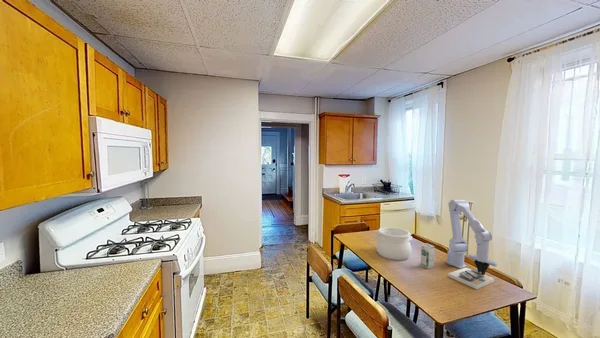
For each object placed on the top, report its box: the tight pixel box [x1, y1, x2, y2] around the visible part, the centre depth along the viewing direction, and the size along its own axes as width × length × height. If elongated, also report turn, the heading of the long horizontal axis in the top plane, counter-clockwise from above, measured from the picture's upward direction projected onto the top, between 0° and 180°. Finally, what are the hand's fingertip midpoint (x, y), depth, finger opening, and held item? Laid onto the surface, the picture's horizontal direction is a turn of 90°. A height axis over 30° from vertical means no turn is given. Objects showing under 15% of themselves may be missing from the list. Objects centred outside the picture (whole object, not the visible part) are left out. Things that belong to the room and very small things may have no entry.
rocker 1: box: [459, 271, 474, 280], centre depth 146 cm, size 6×4×1 cm, turn 27°
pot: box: [375, 226, 413, 261], centre depth 185 cm, size 26×24×18 cm
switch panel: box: [447, 267, 495, 290], centre depth 149 cm, size 16×18×2 cm
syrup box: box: [420, 243, 435, 269], centre depth 166 cm, size 6×6×14 cm
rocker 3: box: [470, 268, 482, 275], centre depth 151 cm, size 6×4×1 cm, turn 27°
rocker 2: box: [465, 270, 479, 278], centre depth 149 cm, size 6×4×1 cm, turn 27°
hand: (481, 273), depth 149 cm, fingers closed on rocker 3
